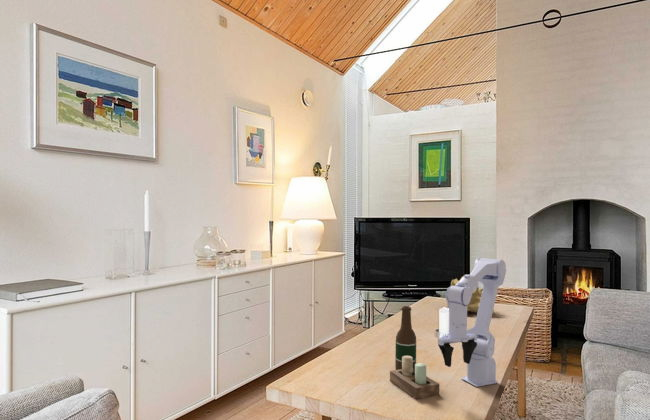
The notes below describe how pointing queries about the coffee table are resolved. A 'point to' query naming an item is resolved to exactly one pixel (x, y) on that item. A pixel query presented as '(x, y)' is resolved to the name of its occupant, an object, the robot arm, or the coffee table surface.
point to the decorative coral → (472, 298)
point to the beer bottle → (405, 339)
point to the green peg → (420, 374)
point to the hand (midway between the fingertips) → (457, 364)
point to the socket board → (414, 385)
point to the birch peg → (407, 365)
